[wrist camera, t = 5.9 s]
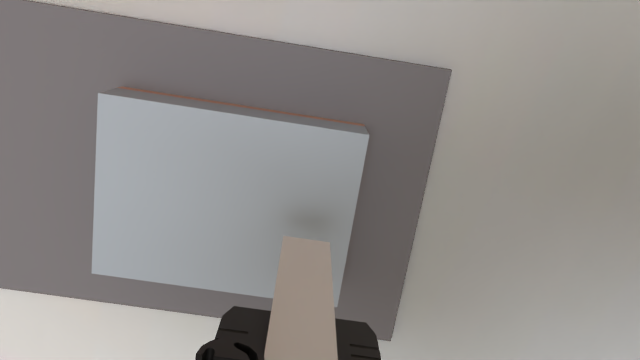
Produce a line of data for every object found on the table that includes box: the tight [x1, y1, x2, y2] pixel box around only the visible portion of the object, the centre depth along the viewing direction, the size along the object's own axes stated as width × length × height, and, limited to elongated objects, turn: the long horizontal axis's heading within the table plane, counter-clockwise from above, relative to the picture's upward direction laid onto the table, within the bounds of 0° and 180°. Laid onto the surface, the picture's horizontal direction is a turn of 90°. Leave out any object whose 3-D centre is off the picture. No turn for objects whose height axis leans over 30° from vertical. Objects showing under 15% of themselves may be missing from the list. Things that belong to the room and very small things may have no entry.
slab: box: [92, 87, 369, 307], centre depth 23 cm, size 3×8×11 cm
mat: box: [0, 0, 452, 341], centre depth 24 cm, size 22×14×1 cm, turn 81°
